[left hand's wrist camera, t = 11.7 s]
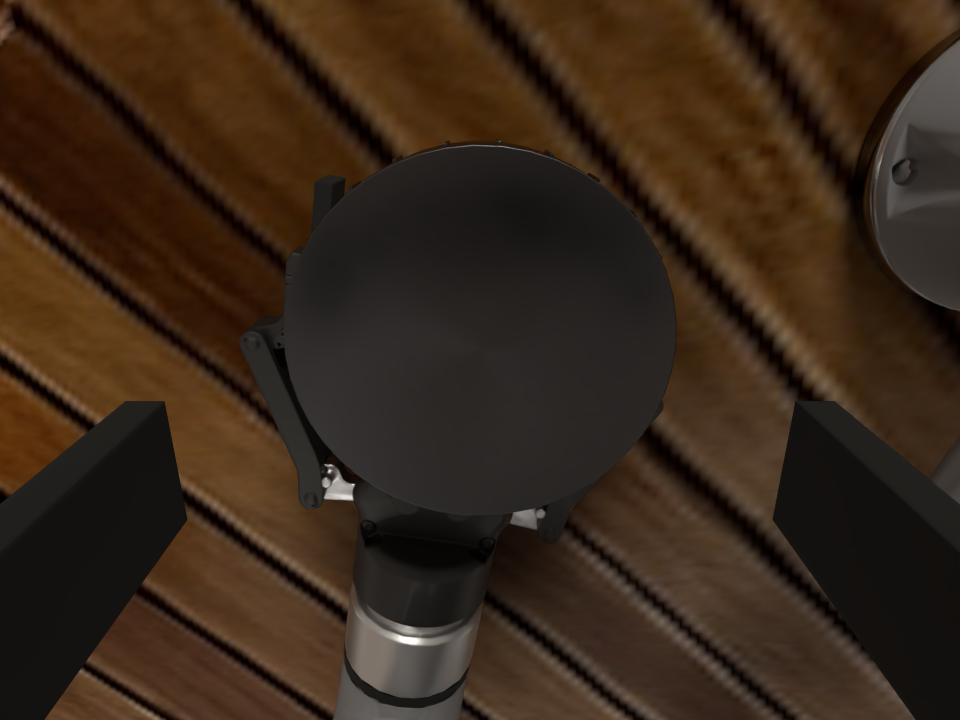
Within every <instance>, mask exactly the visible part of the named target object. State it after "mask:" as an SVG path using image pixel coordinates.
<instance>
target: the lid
mask: <svg viewBox="0 0 960 720" xmlns="http://www.w3.org/2000/svg"><path fill="white" fill-rule="evenodd" d="M392 161H393V163H392V164H390V165H388V166H387V167H385V168H383V169H381V170H380V171H378V172H376V173H375V174H373V175H371V176H370V177H368V178H366V179H365V180H364V181H362V182H361V181H360V182H358V183H356V184H354V185H353V186H351V187H350V188H349V192H348V193H347V194H346V195H344V197H343V198H342V199H341V200H340V201H339V202H338V203H337V204H336V205H335V206H334V207H333V208H332V209H331V210H330V211H329V212H328V213H327V214H326V215H325V217H324V218H323V219H322V221H321V222H319V223H318V224H316V226H315V228H316V229H315V230H314V232H313V233H312V234H311V236H310V238H309V240H308V242H307V243H306V245H305V247H304V249H303V251H302V253H301V255H300V257H299V259H298V261H297V264H296V267H295V268H294V271H293V275H292V278H291V281H290V285H289V289H288V294H287V299H286V304H285V314H284V330H283V333H284V346H285V357H286V361H287V366H288V370H289V375H290V379H291V382H292V385H293V387H294V390H295V393H296V396H297V398H298V401H299V403H300V405H301V407H302V409H303V411H304V413H305V415H306V417H307V419H308V420H309V422H310V424H311V425H312V427H313V428H314V430H315V431H316V432H317V434H318V435H319V437H320V438H321V440H322V441H323V442H324V443H325V444H326V446H327V447H328V448H329V449H330V450H331V451H332V452H333V453H334V454H335V456H336V457H337V458H338V459H339V460H340V461H342V462H343V463H344V464H345V465H346V466H347V467H348V468H350V469H351V470H352V471H353V472H354V473H355V474H357V475H358V476H360V477H361V478H363V479H364V480H365V481H367V482H368V483H370V484H371V485H373V486H374V487H376V488H378V489H380V490H382V491H384V492H386V493H388V494H389V495H391V496H393V497H395V498H398V499H400V500H403V501H406V502H408V503H411V504H413V505H416V506H419V507H423V508H427V509H431V510H435V511H439V512H445V513H452V514H459V515H482V516H486V515H499V514H509V513H515V512H520V511H525V510H530V509H534V508H537V507H540V506H543V505H546V504H549V503H553V502H555V501H557V500H559V499H562V498H564V497H566V496H569V495H571V494H573V493H575V492H577V491H578V490H580V489H582V488H583V487H585V486H587V485H589V484H590V483H592V482H594V481H595V480H596V479H598V478H599V477H600V476H602V475H603V474H604V473H605V472H607V471H608V470H609V469H611V468H612V467H613V466H614V465H615V464H616V463H617V462H618V461H619V460H620V459H621V458H622V457H623V456H624V455H625V454H627V453H628V452H629V450H630V449H631V448H632V447H633V445H634V444H635V443H636V442H637V441H638V439H639V438H640V437H641V436H642V434H643V433H644V431H645V430H646V428H647V427H648V425H649V423H650V422H651V420H652V418H653V417H654V415H655V413H656V411H657V409H658V407H659V405H660V402H661V400H662V398H663V396H664V394H665V391H666V388H667V385H668V381H669V378H670V374H671V371H672V367H673V361H674V354H675V348H676V314H675V306H674V298H673V293H672V289H671V286H670V282H669V278H668V275H667V271H666V269H665V267H664V264H663V262H662V260H661V259H662V257H661V256H660V255H659V253H658V251H657V248H656V246H655V245H654V243H653V242H652V240H651V238H650V237H649V235H648V234H647V232H646V230H645V229H644V227H643V225H642V224H641V223H640V222H639V221H638V219H637V218H636V217H637V215H636V214H635V213H634V212H633V211H631V210H630V209H628V207H627V206H626V205H625V204H624V203H623V202H622V201H620V200H619V199H618V198H617V197H616V196H615V195H614V194H613V193H612V192H610V191H609V190H608V189H607V188H606V187H605V186H603V185H602V184H600V183H599V181H600V179H599V178H597V177H595V176H594V175H592V174H590V173H588V175H587V174H585V173H584V172H582V171H581V170H579V169H577V168H576V167H574V166H572V165H570V164H568V163H566V162H564V161H562V160H560V159H558V158H556V157H554V154H553V153H551V152H550V151H547V150H545V152H541V151H538V150H535V149H531V148H528V147H525V146H520V145H514V144H508V143H503V142H501V140H500V139H496V142H486V141H470V142H460V143H450V141H446V142H445V143H444V144H443V145H441V146H437V147H432V148H428V149H424V150H421V151H419V152H416V153H414V154H411V155H409V156H406V157H404V158H403V157H402V155H401V156H399V157H397V158H395V159H393V160H392Z"/></svg>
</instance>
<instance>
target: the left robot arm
mask: <svg viewBox="0 0 960 720" xmlns="http://www.w3.org/2000/svg"><path fill="white" fill-rule="evenodd" d="M855 201H856V213H857V220H858V225H859V228H860V232H861V236H862V238H863V241H864V243H865V245H866V248H867V250H868V251H869V253H870V255H871V257H872V258H873V260H874V261H875V263H876V264H877V265H878V267H879V268H880V269H881V270H882V271H883V272H884V273H885V274H886V276H887V277H889V278H890V279H891V280H892V281H893V282H895V283H896V284H897V285H899V286H900V287H902V288H903V289H905V290H907V291H909V292H911V293H913V294H915V295H917V296H919V297H921V298H924V299H926V300H929V301H931V302H933V303H936V304H938V305H941V306H944V307H946V308H949V309H953V310H957V311H960V29H959V30H957V31H956V32H954V33H952V34H951V35H949V36H948V37H947V38H945V39H944V40H942V41H941V42H940V43H938V44H937V45H936V46H934V47H933V48H932V49H931V50H930V51H928V52H927V53H926V54H925V55H924V56H923V57H922V58H921V59H920V60H919V61H918V62H917V63H916V64H914V65H913V66H912V67H911V69H910V70H909V71H908V72H907V73H906V74H905V75H904V77H903V78H902V79H901V80H900V81H899V82H898V84H897V85H896V86H895V88H894V89H893V90H892V92H891V93H890V95H889V96H888V98H887V99H886V101H885V102H884V104H883V106H882V107H881V109H880V111H879V112H878V114H877V116H876V118H875V120H874V122H873V124H872V126H871V129H870V131H869V133H868V136H867V138H866V141H865V144H864V147H863V150H862V153H861V157H860V161H859V166H858V171H857V178H856V191H855ZM186 521H187V515H186V510H185V505H184V500H183V494H182V489H181V484H180V479H179V474H178V469H177V463H176V458H175V453H174V448H173V443H172V438H171V432H170V427H169V422H168V417H167V412H166V407H165V401H125V402H124V403H123V404H122V405H120V406H119V407H118V408H117V409H116V410H114V411H113V412H112V413H111V414H109V415H108V416H107V417H106V418H105V419H103V420H102V421H101V422H100V423H99V424H97V425H96V426H95V427H94V428H92V429H91V430H90V431H89V432H88V433H86V434H85V435H84V436H83V437H81V438H80V439H79V440H78V441H77V442H75V443H74V444H73V445H72V446H70V447H69V448H68V449H67V450H66V451H64V452H63V453H62V454H61V455H60V456H58V457H57V458H56V459H55V460H53V461H52V462H51V463H50V464H49V465H47V466H46V467H45V468H44V469H42V470H41V471H40V472H39V473H38V474H36V475H35V476H34V477H33V478H32V479H30V480H29V481H28V482H27V483H25V484H24V485H23V486H22V487H21V488H19V489H18V490H17V491H16V492H14V493H13V494H12V495H11V496H10V497H8V498H7V499H6V500H5V501H4V502H2V503H1V504H0V720H44V719H45V718H46V717H47V715H48V714H49V712H50V711H51V710H52V708H53V707H54V705H55V704H56V703H57V701H58V700H59V698H60V697H61V696H62V694H63V693H64V691H65V690H66V689H67V687H68V686H69V684H70V683H71V682H72V680H73V679H74V677H75V676H76V675H77V673H78V672H79V670H80V669H81V668H82V666H83V665H84V663H85V662H86V661H87V659H88V658H89V656H90V655H91V654H92V652H93V651H94V649H95V648H96V647H97V645H98V644H99V642H100V641H101V640H102V638H103V637H104V635H105V634H106V633H107V631H108V630H109V628H110V627H111V626H112V624H113V623H114V622H115V620H116V619H117V617H118V616H119V615H120V613H121V612H122V610H123V609H124V608H125V606H126V605H127V603H128V602H129V601H130V599H131V598H132V596H133V595H134V594H135V592H136V591H137V589H138V588H139V587H140V585H141V584H142V582H143V581H144V580H145V578H146V577H147V575H148V574H149V573H150V571H151V570H152V568H153V567H154V566H155V564H156V563H157V561H158V560H159V559H160V557H161V556H162V554H163V553H164V552H165V550H166V549H167V547H168V546H169V545H170V543H171V542H172V540H173V539H174V538H175V536H176V535H177V533H178V532H179V531H180V529H181V528H182V526H183V525H184V524H185V522H186ZM773 521H774V522H775V524H776V525H777V526H778V528H779V529H780V531H781V532H782V533H783V535H784V536H785V538H786V539H787V540H788V542H789V543H790V545H791V546H792V547H793V549H794V550H795V552H796V553H797V554H798V556H799V557H800V559H801V560H802V561H803V563H804V564H805V566H806V567H807V568H808V570H809V571H810V573H811V574H812V575H813V577H814V578H815V580H816V581H817V582H818V584H819V585H820V587H821V588H822V589H823V591H824V592H825V594H826V595H827V596H828V598H829V599H830V601H831V602H832V603H833V605H834V606H835V608H836V609H837V610H838V612H839V613H840V615H841V616H842V617H843V619H844V620H845V622H846V623H847V624H848V626H849V627H850V628H851V630H852V631H853V633H854V634H855V635H856V637H857V638H858V640H859V641H860V642H861V644H862V645H863V647H864V648H865V649H866V651H867V652H868V654H869V655H870V656H871V658H872V659H873V661H874V662H875V663H876V665H877V666H878V668H879V669H880V670H881V672H882V673H883V675H884V676H885V677H886V679H887V680H888V682H889V683H890V684H891V686H892V687H893V689H894V690H895V691H896V693H897V694H898V696H899V697H900V698H901V700H902V701H903V703H904V704H905V705H906V707H907V708H908V710H909V711H910V712H911V714H912V715H913V717H914V718H915V719H916V720H960V436H959V437H958V439H957V440H956V441H955V443H954V444H953V446H952V447H951V448H950V450H949V451H948V452H947V454H946V455H945V456H944V458H943V459H942V460H941V462H940V463H939V465H938V466H937V467H936V469H935V470H934V471H933V473H932V474H931V475H930V477H929V478H927V477H926V476H925V475H924V474H922V473H921V472H920V471H919V470H918V469H916V468H915V467H914V466H913V465H911V464H910V463H909V462H908V461H907V460H905V459H904V458H903V457H902V456H900V455H899V454H898V453H897V452H896V451H894V450H893V449H892V448H891V447H889V446H888V445H887V444H886V443H885V442H883V441H882V440H881V439H880V438H879V437H877V436H876V435H875V434H874V433H872V432H871V431H870V430H869V429H868V428H866V427H865V426H864V425H863V424H861V423H860V422H859V421H858V420H857V419H855V418H854V417H853V416H852V415H851V414H849V413H848V412H847V411H846V410H844V409H843V408H842V407H841V406H840V405H838V404H837V403H836V402H835V401H795V407H794V412H793V417H792V422H791V427H790V432H789V438H788V443H787V448H786V453H785V458H784V463H783V469H782V474H781V479H780V484H779V489H778V494H777V500H776V505H775V510H774V515H773Z"/></svg>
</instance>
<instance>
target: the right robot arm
mask: <svg viewBox="0 0 960 720" xmlns="http://www.w3.org/2000/svg"><path fill="white" fill-rule="evenodd" d="M344 189H345V178H343V177H337V176H331V175H328V176H326V177H324V178H321V179H319V180H317V181H315V191H314V204H313V217H312V230H311V234H312V233H313V232H314V230H315V229H316V228H315V226H316V224H318V223H319V222H321V221H322V219H323V218H324V217H325V215H326V214H327V213H328V212H329V211H330V210H331V209H332V208H333V207H334V206H335V205H336V204H337V203H338V202H339V201H340V200H341V199H342V198H343V197H344ZM303 249H304V247H298V248H297V249H296V250H294V251H293V252H292V253H291V255H290V257H289V259H288V261H287V262H286V276H285V292H284V308H283V315H281V316H277V317H269V316H264V317H262V318H260V319H258V320H257V321H256V322H255V323H254V324H253V325H252V326H251V327H250V328H249V329H248V330H247V331H246V332H245V333H244V334H243V335H242V336H241V337H240V341H239V344H240V347H241V350H242V352H243V354H244V356H245V358H246V360H247V363H248V365H249V367H250V369H251V371H252V373H253V375H254V378H255V380H256V382H257V384H258V386H259V388H260V391H261V393H262V395H263V397H264V399H265V401H266V403H267V406H268V408H269V410H270V412H271V414H272V416H273V419H274V421H275V423H276V425H277V427H278V429H279V432H280V434H281V436H282V438H283V440H284V442H285V444H286V447H287V449H288V451H289V453H290V455H291V457H292V460H293V462H294V464H295V466H296V468H297V470H298V488H299V500H300V503H301V504H302V506H304V507H305V508H307V509H316V508H318V507H320V506H321V504H322V502H323V500H324V499H332V500H353V501H354V503H355V505H356V507H357V509H358V512H359V527H358V535H357V543H356V551H355V559H354V568H353V583H352V587H351V590H350V599H349V608H348V617H347V626H346V634H345V644H344V659H343V665H342V671H341V678H340V684H339V690H338V697H337V703H336V708H335V713H334V718H333V720H459V718H460V711H461V705H462V700H463V694H464V688H465V683H466V677H467V673H468V670H469V666H470V661H471V658H472V655H473V651H474V646H475V642H476V637H477V632H478V628H479V623H480V618H481V614H482V607H483V599H484V597H485V594H486V590H487V585H488V581H489V576H490V571H491V567H492V562H493V558H494V553H495V548H496V544H497V540H498V537H499V535H500V533H501V532H502V530H503V529H504V528H505V527H506V526H507V525H508V524H509V523H510V524H514V525H518V526H522V527H526V528H530V529H534V530H537V532H538V537H539V539H540V540H541V541H542V542H544V543H549V544H550V543H554V542H556V541H557V540H558V539H559V538H560V536H561V534H562V531H563V529H564V526H565V524H566V521H567V519H568V516H569V514H570V511H571V510H572V509H573V508H574V507H575V506H576V504H577V503H578V502H579V501H580V500H581V499H582V498H583V497H584V496H585V495H586V494H587V493H588V491H589V490H590V489H591V488H592V487H593V486H594V485H595V484H596V483H597V482H598V481H599V479H600V478H601V477H602V476H603V475H604V474H605V473H606V472H605V473H604V474H603V475H602V476H600V477H599V478H598V479H596V480H595V481H594V482H592V483H590V484H589V485H587V486H585V487H583V488H582V489H580V490H578V491H577V492H575V493H573V494H571V495H569V496H566V497H564V498H562V499H559V500H557V501H555V502H553V503H549V504H546V505H543V506H540V507H537V508H534V509H530V510H525V511H520V512H515V513H509V514H499V515H486V516H482V515H459V514H452V513H445V512H439V511H435V510H431V509H427V508H423V507H419V506H416V505H413V504H411V503H408V502H406V501H403V500H400V499H398V498H395V497H393V496H391V495H389V494H388V493H386V492H384V491H382V490H380V489H378V488H376V487H374V486H373V485H371V484H370V483H368V482H367V481H365V480H364V479H363V478H361V477H360V476H358V475H352V474H350V473H349V472H347V470H346V469H345V467H344V464H343V462H342V461H340V460H339V459H338V458H337V457H336V456H335V455H333V456H332V451H331V450H330V449H329V448H328V447H327V446H326V444H325V443H324V442H323V441H322V440H321V438H320V437H319V435H318V434H317V432H316V431H315V430H314V428H313V427H312V425H311V424H310V422H309V420H308V419H307V417H306V415H305V413H304V411H303V409H302V407H301V405H300V403H299V401H298V398H297V396H296V393H295V390H294V387H293V385H292V382H291V379H290V375H289V370H288V366H287V361H286V357H285V346H284V333H283V330H284V314H285V304H286V299H287V294H288V289H289V285H290V281H291V278H292V275H293V271H294V268H295V267H296V264H297V261H298V259H299V257H300V255H301V253H302V251H303ZM662 410H663V401H662V400H661V402H660V405H659V407H658V409H657V411H656V413H655V415H654V417H653V418H652V420H651V422H650V423H649V425H650V424H651V423H652V422H653V421H654V420H655V419H656V418H657V417H658V415H659V414H660V413H661V412H662ZM649 425H648V426H649Z"/></svg>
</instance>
